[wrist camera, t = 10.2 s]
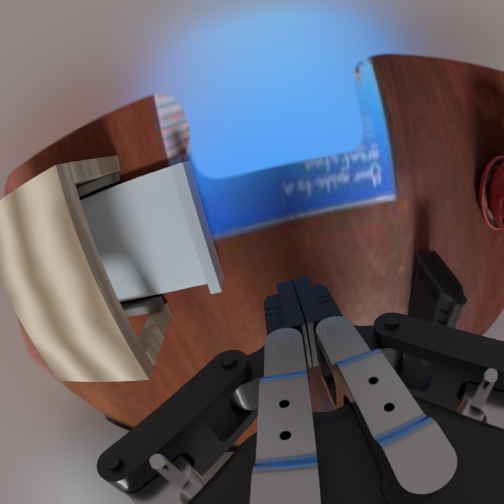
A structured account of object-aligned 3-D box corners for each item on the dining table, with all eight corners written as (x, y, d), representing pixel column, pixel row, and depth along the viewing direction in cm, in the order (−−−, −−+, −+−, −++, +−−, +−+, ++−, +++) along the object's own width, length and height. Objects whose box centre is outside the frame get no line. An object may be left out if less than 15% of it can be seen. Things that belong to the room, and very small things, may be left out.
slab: (190, 160, 29) (182, 162, 25) (224, 275, 34) (221, 291, 30) (54, 212, 30) (37, 220, 26) (92, 303, 35) (80, 318, 31)
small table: (117, 155, 28) (55, 165, 16) (172, 314, 35) (149, 379, 24) (39, 192, 28) (-23, 217, 17) (94, 326, 36) (59, 380, 25)
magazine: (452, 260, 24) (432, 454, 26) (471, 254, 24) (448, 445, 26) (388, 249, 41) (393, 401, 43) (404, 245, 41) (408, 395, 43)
